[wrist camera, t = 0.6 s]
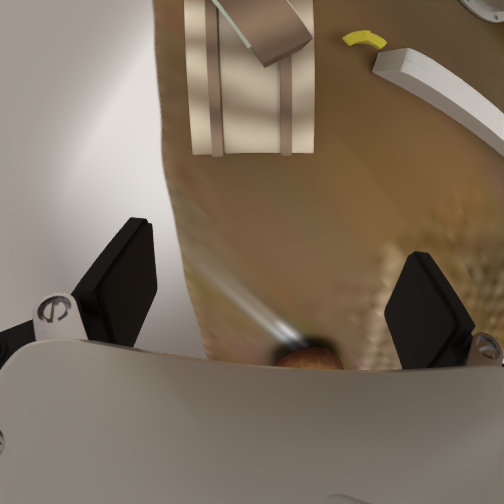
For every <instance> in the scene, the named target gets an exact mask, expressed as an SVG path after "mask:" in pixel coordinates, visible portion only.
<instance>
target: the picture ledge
mask: <svg viewBox="0 0 504 504" xmlns="http://www.w3.org/2000/svg"><path fill="white" fill-rule="evenodd" d="M288 1H289V2H290V4H291V5H292V6H293V8H294V9H295V11H296V12H297V13H298V15H299V16H300V18H301V19H302V20H303V23H304V25H305V26H306V28H307V29H308V31H309V32H310V34H311V35H312V37H313V39H312V40H311V41H310V42H309V43H308V44H307V45H306V46H305V47H304V48H303V49H301V50H300V51H298V52H296V53H293V54H291V55H289V56H287V57H285V58H283V59H282V60H280V61H278V62H276V63H274V64H272V65H270V66H268V67H266V68H264V67H263V65H262V64H261V62H260V61H259V59H258V58H257V56H256V55H255V54H253V55H252V54H251V52H250V51H249V50H248V48H247V47H246V45H245V44H244V42H243V41H242V40H241V38H240V37H239V36H238V34H237V33H236V31H235V30H234V29H233V27H232V26H231V25H230V23H229V22H228V21H227V19H226V18H225V17H224V15H223V14H222V13H221V12H220V10H219V9H218V8H217V6H216V5H215V4H214V3H213V1H212V0H184V13H185V44H186V65H187V83H188V99H189V113H190V126H191V138H192V149H193V155H201V154H212V157H223V156H224V154H225V153H281V156H292V153H313V149H314V103H315V66H314V22H313V0H288Z"/></svg>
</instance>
